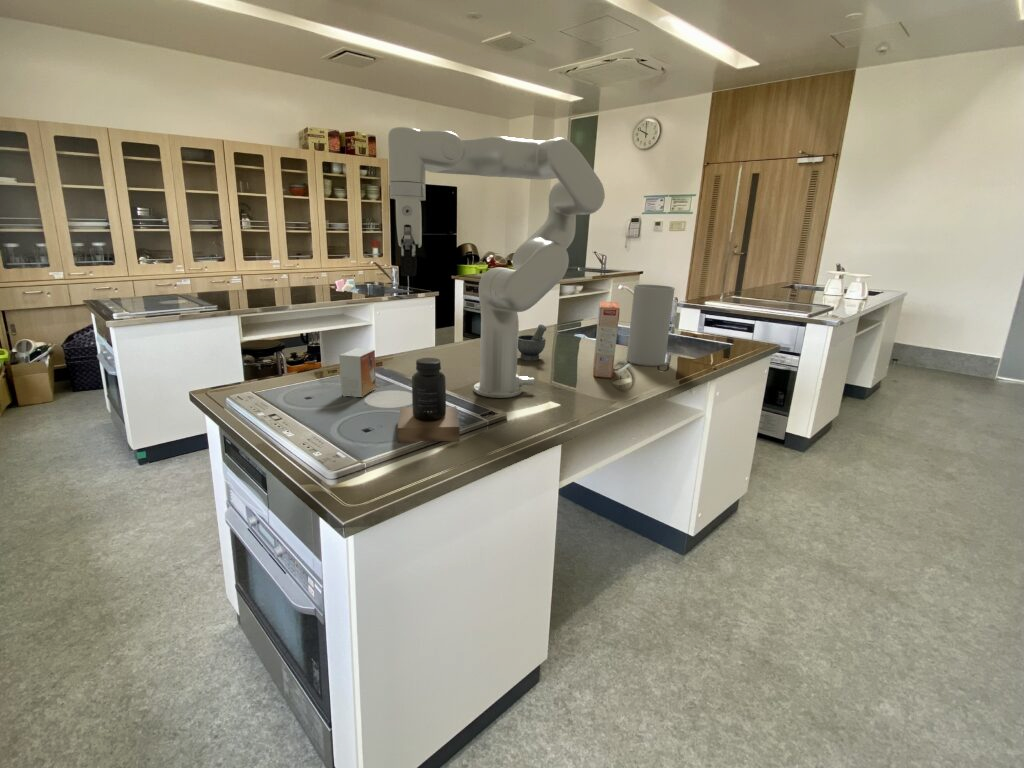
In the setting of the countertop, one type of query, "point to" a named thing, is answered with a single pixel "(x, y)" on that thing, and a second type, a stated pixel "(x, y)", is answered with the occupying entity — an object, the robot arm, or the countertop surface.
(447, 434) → the walnut base
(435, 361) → the supplement bottle
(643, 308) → the cylinder vase
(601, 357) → the cracker box
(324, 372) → the countertop surface
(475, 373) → the countertop surface
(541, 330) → the mortar and pestle
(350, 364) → the small box
